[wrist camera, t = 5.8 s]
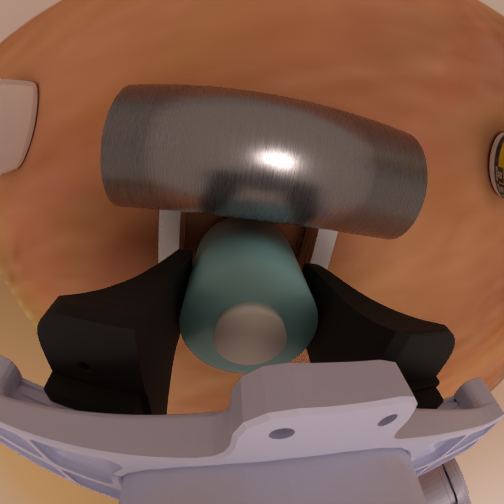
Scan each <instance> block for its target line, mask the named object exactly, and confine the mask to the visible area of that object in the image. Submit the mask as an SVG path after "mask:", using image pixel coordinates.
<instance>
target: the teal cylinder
mask: <svg viewBox="0 0 504 504" xmlns="http://www.w3.org/2000/svg"><path fill="white" fill-rule="evenodd" d="M179 325H180V332H181V335H182V338H183V340H184V342H185V344H186V345H187V346H188V348H189V349H190V350H191V351H192V352H193V354H194V355H196V356H197V357H198V358H199V359H201V360H202V361H204V362H205V363H207V364H209V365H211V366H213V367H216V368H218V369H221V370H225V371H229V372H235V373H250V372H252V371H254V370H256V369H258V368H260V367H262V366H267V365H274V364H281V363H288V362H290V361H291V360H293V359H294V358H296V357H297V356H298V355H299V354H301V353H302V352H303V351H304V350H305V349H306V347H307V346H308V345H309V344H310V342H311V340H312V339H313V337H314V334H315V332H316V329H317V325H318V312H317V307H316V304H315V301H314V299H313V297H312V294H311V292H310V290H309V287H308V285H307V283H306V280H305V278H304V276H303V273H302V271H301V269H300V266H299V264H298V262H297V259H296V257H295V255H294V253H293V250H292V248H291V246H290V244H289V241H288V240H287V238H286V236H285V235H284V233H283V232H282V231H281V230H280V229H279V228H278V227H277V226H275V225H274V224H272V223H271V222H266V221H258V220H250V219H242V218H233V217H231V218H227V219H225V220H222V221H220V222H218V223H217V224H215V225H214V226H212V227H211V228H210V229H209V230H208V231H207V232H206V233H205V235H204V236H203V237H202V239H201V241H200V243H199V245H198V248H197V251H196V255H195V259H194V262H193V266H192V270H191V274H190V277H189V281H188V285H187V289H186V293H185V297H184V301H183V305H182V309H181V313H180V321H179Z"/></svg>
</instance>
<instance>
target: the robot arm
mask: <svg viewBox="0 0 504 504" xmlns="http://www.w3.org/2000/svg"><path fill="white" fill-rule="evenodd" d="M192 255H193V251H192V250H183V249H178V250H177V251H175V252H174V253H172V254H171V255H170V256H168V257H167V258H166V259H164V260H163V261H161V262H160V263H158V264H157V265H155V266H154V267H152V268H150V269H149V270H147V271H145V272H144V273H142V274H140V275H138V276H136V277H134V278H132V279H129V280H127V281H125V282H122V283H119V284H116V285H113V286H111V287H108V288H104V289H100V290H96V291H92V292H87V293H81V294H72V295H64V296H59V297H58V298H57V299H56V300H55V301H54V303H53V304H52V305H51V306H50V308H49V309H48V310H47V312H46V313H45V314H44V315H43V317H42V318H41V319H40V321H39V324H38V326H37V334H38V338H39V341H40V344H41V347H42V349H43V351H44V354H45V356H46V358H47V360H48V363H49V365H50V366H51V369H52V373H51V375H50V377H49V379H48V381H47V383H46V385H45V387H43V386H40V385H38V384H35V383H33V382H31V381H28V380H26V379H23V378H22V376H21V374H20V371H19V370H18V368H17V367H16V365H15V364H14V363H13V362H12V361H11V360H9V359H8V358H5V357H3V356H1V355H0V442H1V443H2V444H4V445H5V446H7V447H8V448H10V449H12V450H13V451H15V452H17V453H18V454H20V455H22V456H23V457H25V458H27V459H29V460H30V461H32V462H34V463H36V464H38V465H39V466H41V467H43V468H45V469H47V470H49V471H51V472H53V473H55V474H57V475H59V476H61V477H63V478H65V479H67V480H70V481H71V482H74V483H76V484H78V485H80V486H83V487H85V488H88V489H90V490H93V491H96V492H98V493H101V494H104V495H107V496H110V497H112V498H115V499H119V504H471V502H470V499H469V496H468V489H467V486H466V483H465V480H464V477H463V475H462V472H461V470H460V468H459V466H458V464H457V462H456V460H455V458H454V457H456V456H458V455H460V454H461V453H463V452H465V451H466V450H468V449H470V448H471V447H472V446H473V445H474V444H475V443H477V441H479V440H480V439H481V438H482V437H483V436H484V435H485V434H486V433H488V432H489V431H490V430H491V429H492V428H493V427H494V426H495V425H496V424H497V423H498V422H499V421H500V420H501V419H502V418H503V417H504V412H503V411H502V409H501V407H500V406H499V404H498V403H497V401H496V400H495V398H494V397H493V395H492V394H491V392H490V391H489V389H488V388H487V386H486V385H485V383H484V382H483V380H482V379H481V377H478V378H476V379H473V380H470V381H467V382H465V383H464V384H463V385H462V386H461V387H460V388H459V389H458V390H457V391H456V393H455V394H454V396H452V397H449V398H446V399H443V398H442V396H441V395H440V393H439V391H438V390H437V388H436V386H438V385H439V380H438V379H437V377H436V376H437V374H438V373H439V372H440V370H441V369H442V367H443V366H444V364H445V363H446V362H447V360H448V359H449V357H450V355H451V353H452V351H453V348H454V345H455V338H454V335H453V334H452V333H451V331H450V330H449V329H448V328H447V327H446V326H445V325H442V324H438V323H433V322H429V321H424V320H421V319H417V318H414V317H411V316H408V315H405V314H402V313H400V312H397V311H395V310H393V309H390V308H388V307H386V306H383V305H381V304H379V303H378V302H376V301H374V300H372V299H370V298H368V297H366V296H365V295H363V294H362V293H360V292H358V291H357V290H355V289H354V288H352V287H351V286H349V285H348V284H346V283H345V282H343V281H342V280H341V279H339V278H338V277H336V276H335V275H334V274H332V273H331V272H329V271H328V270H326V269H325V268H323V267H322V266H320V265H318V264H312V263H304V265H303V269H302V273H303V276H304V278H305V280H306V283H307V285H308V287H309V290H310V292H311V294H312V297H313V299H314V301H315V304H316V307H317V312H318V325H317V329H316V332H315V334H314V337H313V339H312V340H311V342H310V344H309V345H308V346H307V347H306V349H307V352H308V355H309V359H310V362H311V363H281V364H274V365H267V366H262V367H260V368H258V369H256V370H254V371H252V372H250V373H248V374H246V375H244V376H242V377H241V378H240V379H239V381H238V382H237V384H236V385H235V387H234V388H233V389H232V391H231V397H230V403H229V406H228V408H227V410H226V411H218V412H207V413H193V414H173V415H166V414H167V404H168V395H169V387H170V380H171V372H172V366H173V360H174V354H175V350H176V346H177V342H178V339H179V336H180V325H179V321H180V313H181V309H182V305H183V301H184V297H185V293H186V289H187V285H188V281H189V277H190V274H191V270H192ZM443 469H444V470H443ZM452 491H453V492H452Z"/></svg>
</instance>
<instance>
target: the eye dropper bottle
mask: <svg viewBox="0 0 504 504" xmlns="http://www.w3.org/2000/svg"><path fill="white" fill-rule="evenodd" d="M37 103H38V89H37V86H36V84H35V83H33V82H32V81H24V80H11V79H0V175H2V174H4V173H7V172H10V171H13V170H15V169H17V168H18V167H19V166H20V165H21V164H22V162H23V160H24V158H25V155H26V153H27V150H28V148H29V145H30V142H31V138H32V134H33V130H34V126H35V120H36V114H37Z"/></svg>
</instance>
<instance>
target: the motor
mask: <svg viewBox="0 0 504 504" xmlns="http://www.w3.org/2000/svg"><path fill="white" fill-rule="evenodd" d="M101 173H102V180H103V184H104V188H105V191H106V194H107V196H108V198H109V199H110V201H111V202H112V203H113V204H114V205H116V206H123V207H135V208H146V209H157V210H159V242H158V263H160V262H161V261H163V260H164V259H166V258H167V257H168V256H170V255H171V254H172V253H174V252H175V251H177V250H178V249H183V250H184V247H185V230H186V216H187V212H188V213H198V214H207V215H216V216H225V217H233V218H242V219H250V220H258V221H266V222H274V223H282V224H289V225H296V226H304V227H306V229H305V234H304V238H303V242H302V247H301V251H300V255H299V259H298V264H299V266H300V269H301V271H302V269H303V265H304V263H312V264H318V265H320V266H322V267H323V268H325V269H326V270H327V269H328V266H329V262H330V259H331V255H332V252H333V248H334V245H335V241H336V237H337V234H338V232H345V233H351V234H358V235H364V236H370V237H376V238H382V239H395V238H398V237H400V236H401V235H403V234H404V233H405V232H406V231H407V230H408V229H409V228H410V227H411V226H412V224H413V223H414V222H415V220H416V218H417V217H418V215H419V212H420V210H421V208H422V205H423V202H424V199H425V194H426V188H427V164H426V159H425V155H424V152H423V150H422V147H421V146H420V144H419V142H418V141H417V140H416V139H415V138H414V137H413V136H412V135H411V134H408V133H406V132H404V131H401V130H399V129H396V128H393V127H391V126H388V125H385V124H383V123H380V122H377V121H374V120H371V119H368V118H365V117H362V116H359V115H355V114H352V113H349V112H345V111H342V110H338V109H335V108H331V107H327V106H323V105H320V104H315V103H311V102H307V101H303V100H298V99H293V98H288V97H283V96H278V95H272V94H267V93H260V92H254V91H247V90H239V89H231V88H222V87H211V86H197V85H176V84H137V85H128V86H126V87H125V88H123V89H122V90H121V91H120V92H119V94H118V95H117V96H116V98H115V100H114V101H113V103H112V105H111V108H110V110H109V112H108V115H107V118H106V122H105V126H104V130H103V135H102V142H101Z"/></svg>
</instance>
